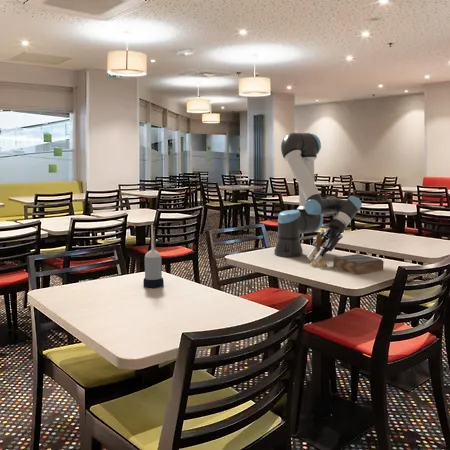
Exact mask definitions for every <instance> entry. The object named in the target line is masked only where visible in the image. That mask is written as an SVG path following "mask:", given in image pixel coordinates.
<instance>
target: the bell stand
mask: <svg viewBox="0 0 450 450" xmlns="http://www.w3.org/2000/svg"><path fill="white" fill-rule="evenodd" d="M332 261H333V262H332V263H333V264H332V265H333V268H334V269H336V270H341V271H345V272H348V273H352V274H355V275H361V274H368V273H373V272H381V271H384V263H385V262H384V260H383V259H380V258H378V257H373V256H368V255H363V254H361V253H357V254H348V255H340V256H334V257H333V260H332Z"/></svg>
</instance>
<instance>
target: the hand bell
mask: <svg viewBox="0 0 450 450" xmlns="http://www.w3.org/2000/svg"><path fill="white" fill-rule="evenodd" d="M315 239H316V242H317V253H316V254H314V257H313V258H312V260H311V262H310V263H309V266H311V267H314V268H326V267H328V264H327V263H326V261H325V259H324V258H325V257H324V256H325V255H324V256H323V257H322V258H321V259H320V261H319V262H317V261H316V260H315V259H314V258H315V257H316V255H317V254H318V253H319V251H320V250H321V249H322V248H321V247H322V246H321V242H322V237H321V233H320V232H317V235H316V238H315Z"/></svg>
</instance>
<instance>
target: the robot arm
mask: <svg viewBox="0 0 450 450" xmlns="http://www.w3.org/2000/svg"><path fill="white" fill-rule="evenodd" d="M280 149H281V150H280V151H281V155H282V157H283V160H284V161H286V162H287V163H288V165H289V168H290V170H291V172H292V174H293V176H294V177H295V180H296V182H297V184H298V196H299V197H298V200H299V205H298V207H297V208H296V209H290V210H283V211H280V212H279V213H278V216H277V217H278V218H277V241H276V245H275V248H274V250H273V251H274V252H273V253H274V255H275V256H278V257H283V258H284V257H286V258H287V257H289V258H292V257H293V258H294V257H295V258H296V257H300V256H303V254H304V253H303V252H304V250H303V247H302V244H301V239H300V238H301V234H302V235H303V234H308V233H309V234H311V233H315V232H318V231H320V232H319V233H321V237H322V242H321V247H322V248H321V250H320V251H319V253H318V254H317V255H316V257H315V258H314V254H316V253H317V242H316V238H315V239H314V241H313V242H312V244H311V245H312V246H313V247H312V249H311V250H310V252H309V253H308V255H307V256H306V257H307V259H308V260H309V261H313V258H314V259H315V260H316V261H317V262H319V261H320V259H321V258H322V257H323V256H325V254H326V253H328V252H332V251H333V250H334V248H335V247H336V245H337V244H338V243H339V241H340V240H341V239H342V238H343V235H342V233H343V232H344V231H345V230H346V228H347V227H348V226H349V224H350V222H352V220H353V218H355V216H356V215H357V213H358V212H359V211H360V209H361V207H362V200H361V199H360V198H358V197H356V196H355V195H351V196H349V197H347V199H342V198H337V197H331V196H327V197H326V198H323V197H322V196H321V194H320V191H319V190H318V188H317V186H316V184H315V183H316V182H315V179H316V178H315V160H317V158H318V157H317V155H318V154H319V153H320V151H321V149H322V144H321V140H320V138H319V137H318V136H317V134H314V133H309V132H307V133H306V132H290V133H288V134H287V135H285V136H284V138H283V139H282V140H281V145H280ZM323 214H326V215H327V214H335V216H333V219H332V220H331V221H330V222H329V224H328V228H327V229H325V230H324V229H321V228H322V227H323V223H324V216H323ZM320 229H321V230H320ZM323 245H324V246H323Z"/></svg>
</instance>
